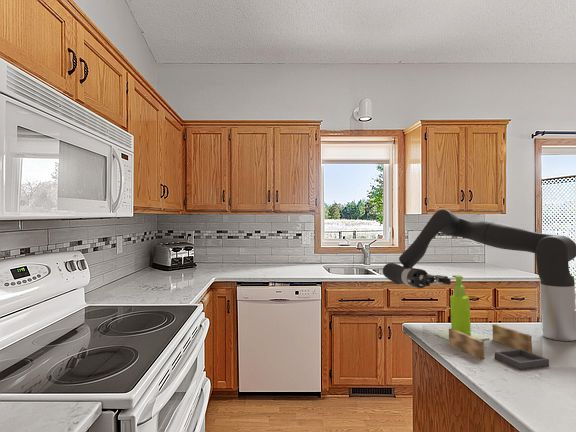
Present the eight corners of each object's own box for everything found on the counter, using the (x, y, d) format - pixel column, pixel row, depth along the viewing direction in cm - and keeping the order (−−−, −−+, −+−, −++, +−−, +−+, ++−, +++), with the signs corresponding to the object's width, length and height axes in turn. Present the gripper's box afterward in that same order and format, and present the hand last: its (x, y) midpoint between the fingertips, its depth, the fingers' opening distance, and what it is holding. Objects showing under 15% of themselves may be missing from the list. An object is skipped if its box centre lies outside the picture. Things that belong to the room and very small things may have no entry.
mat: (433, 334, 134) (433, 332, 134) (466, 330, 137) (466, 329, 137) (454, 343, 123) (454, 342, 123) (489, 339, 126) (489, 338, 126)
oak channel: (449, 344, 122) (448, 328, 122) (496, 339, 126) (495, 324, 126) (480, 359, 108) (479, 341, 109) (532, 353, 112) (531, 335, 113)
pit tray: (494, 358, 109) (494, 352, 109) (521, 355, 111) (521, 348, 111) (520, 370, 100) (520, 363, 100) (549, 366, 102) (548, 359, 102)
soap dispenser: (466, 332, 133) (463, 274, 134) (473, 338, 126) (471, 277, 127) (448, 332, 134) (446, 274, 134) (455, 338, 127) (452, 277, 127)
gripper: (398, 269, 155) (421, 273, 139) (429, 267, 158) (455, 271, 142) (399, 288, 154) (422, 294, 139) (430, 285, 158) (456, 291, 142)
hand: (439, 282), depth 141 cm, fingers open, 8 cm apart
